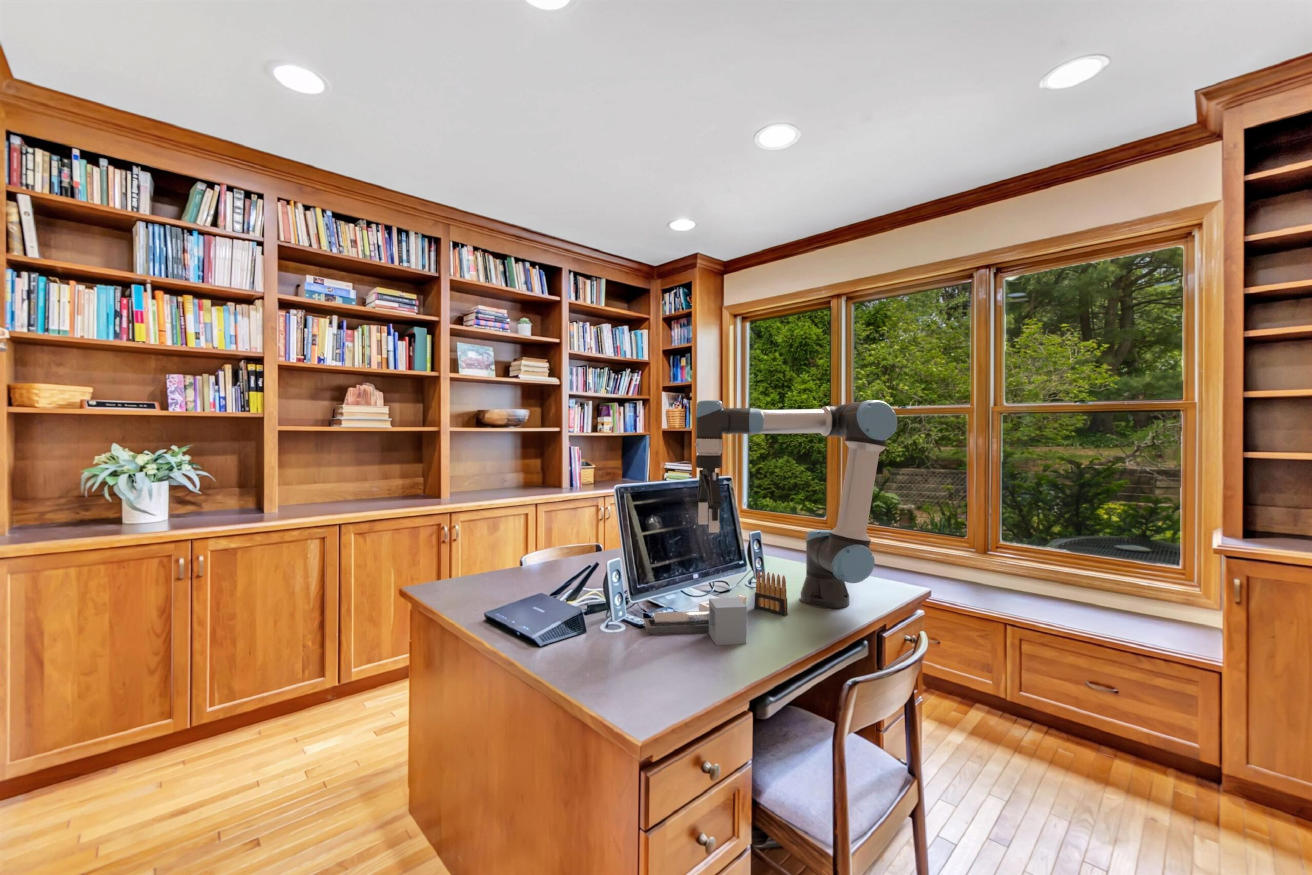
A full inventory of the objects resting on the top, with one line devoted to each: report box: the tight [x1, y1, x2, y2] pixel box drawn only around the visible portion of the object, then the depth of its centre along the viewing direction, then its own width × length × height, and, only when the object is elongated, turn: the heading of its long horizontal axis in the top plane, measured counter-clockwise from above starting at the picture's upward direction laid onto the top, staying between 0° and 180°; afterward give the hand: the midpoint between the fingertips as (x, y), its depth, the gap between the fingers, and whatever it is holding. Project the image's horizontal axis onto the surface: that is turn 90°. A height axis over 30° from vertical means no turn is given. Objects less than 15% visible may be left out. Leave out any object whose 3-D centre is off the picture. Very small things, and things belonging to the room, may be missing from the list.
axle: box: [653, 610, 709, 626], centre depth 152 cm, size 16×4×4 cm, turn 98°
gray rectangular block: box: [708, 597, 748, 646], centre depth 145 cm, size 8×8×10 cm
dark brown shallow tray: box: [643, 617, 709, 636], centre depth 152 cm, size 21×7×2 cm, turn 98°
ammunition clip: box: [753, 569, 789, 617], centre depth 167 cm, size 11×2×12 cm, turn 46°
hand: (708, 528), depth 158 cm, fingers open, 13 cm apart
